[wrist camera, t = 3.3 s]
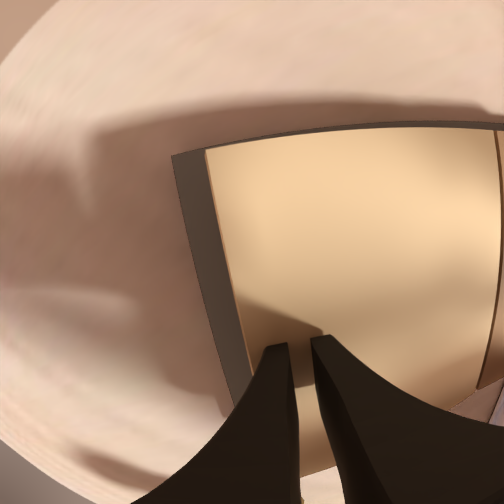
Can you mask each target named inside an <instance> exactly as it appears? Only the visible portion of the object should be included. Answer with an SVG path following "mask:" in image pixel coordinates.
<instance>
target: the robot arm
mask: <svg viewBox="0 0 504 504" xmlns="http://www.w3.org/2000/svg"><path fill="white" fill-rule="evenodd" d="M310 342H311V351H312V360H313V369H314V379H315V389H316V394H317V399H318V404H319V409H320V415H321V418H322V421H323V424H324V427H325V430H326V434H327V437H328V440H329V443H330V446H331V449H332V452H333V455H334V458H335V462H336V465H337V468H338V471H339V475H340V479H341V483H342V488H343V493H344V499H345V504H504V387H503V389H502V392H501V395H500V397H499V400H498V402H497V405H496V407H495V410H494V412H493V414H492V417H491V419H490V421H489V423H485V422H480V421H476V420H472V419H469V418H466V417H462V416H459V415H456V414H453V413H451V412H448V411H445V410H443V409H440V408H438V407H435V406H433V405H430V404H428V403H426V402H424V401H422V400H420V399H418V398H416V397H414V396H412V395H410V394H408V393H406V392H405V391H403V390H401V389H399V388H398V387H396V386H395V385H393V384H392V383H390V382H389V381H387V380H386V379H384V378H383V377H381V376H380V375H378V374H377V373H376V372H374V371H373V370H372V369H370V368H369V367H368V366H367V365H365V364H364V363H363V362H362V361H360V360H359V359H358V358H357V357H355V356H354V355H353V354H352V353H351V352H350V351H349V350H348V349H346V348H345V347H344V346H343V345H342V344H341V343H340V342H339V341H338V340H337V339H336V338H335V337H334V336H332V335H331V334H328V335H323V336H317V337H312V338H310ZM131 504H302V501H301V492H300V442H299V416H298V408H297V401H296V395H295V388H294V381H293V375H292V368H291V362H290V355H289V349H288V343H287V342H284V343H279V344H275V345H270V346H266V348H265V349H264V350H263V353H262V356H261V359H260V362H259V364H258V366H257V368H256V371H255V373H254V375H253V377H252V379H251V381H250V383H249V385H248V387H247V388H246V390H245V392H244V394H243V395H242V397H241V399H240V400H239V402H238V403H237V405H236V406H235V408H234V410H233V411H232V413H231V414H230V415H229V417H228V418H227V420H226V421H225V422H224V424H223V425H222V426H221V427H220V429H219V430H218V431H217V432H216V434H215V435H214V436H213V437H212V438H211V439H210V441H209V442H208V443H207V444H206V445H205V446H204V447H203V448H202V449H201V450H200V451H199V452H198V453H197V454H196V455H195V456H194V457H193V458H192V459H191V460H190V461H189V462H188V463H187V464H186V465H184V466H183V467H182V468H181V469H180V470H178V471H177V472H176V473H175V474H173V475H172V476H171V477H170V478H168V479H167V480H166V481H164V482H163V483H162V484H161V485H159V486H158V487H157V488H155V489H154V490H152V491H151V492H149V493H148V494H146V495H144V496H143V497H141V498H139V499H138V500H136V501H134V502H132V503H131Z"/></svg>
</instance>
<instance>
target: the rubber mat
mask: <svg viewBox="0 0 504 504" xmlns="http://www.w3.org/2000/svg"><path fill="white" fill-rule="evenodd" d="M407 127H434V128H465V129H482V130H493V131H504V124H501V123H488V122H468V121H403V122H382V123H366V124H354V125H343V126H333V127H324V128H315V129H308V130H300V131H293V132H286V133H280V134H273V135H267V136H261V137H256V138H250V139H245V140H239V141H234V142H229V143H224V144H220V145H215V146H210V147H206V148H202V149H197V150H193V151H189V152H185V153H181V154H177V155H173V156H171V158H172V163H173V168H174V173H175V178H176V183H177V188H178V193H179V198H180V203H181V207H182V212H183V217H184V221H185V226H186V230H187V234H188V239H189V243H190V247H191V252H192V256H193V260H194V264H195V268H196V272H197V276H198V280H199V284H200V288H201V292H202V296H203V300H204V304H205V307H206V311H207V315H208V318H209V322H210V326H211V329H212V333H213V337H214V340H215V344H216V347H217V351H218V354H219V357H220V361H221V364H222V368H223V371H224V374H225V377H226V381H227V384H228V387H229V390H230V394H231V397H232V400H233V403H234V406H236V405H237V403H238V402H239V400H240V399H241V397H242V395H243V394H244V392H245V390H246V388H247V387H248V385H249V383H250V381H251V379H252V377H253V375H252V371H251V367H250V363H249V359H248V355H247V351H246V346H245V342H244V338H243V334H242V329H241V325H240V321H239V316H238V312H237V308H236V303H235V299H234V294H233V290H232V285H231V281H230V276H229V272H228V267H227V263H226V258H225V253H224V249H223V244H222V239H221V235H220V230H219V225H218V220H217V215H216V211H215V206H214V201H213V196H212V191H211V186H210V181H209V176H208V171H207V165H206V160H205V150H206V149H211V148H217V147H222V146H227V145H233V144H239V143H245V142H251V141H257V140H264V139H270V138H278V137H285V136H293V135H301V134H310V133H320V132H331V131H343V130H357V129H375V128H407Z"/></svg>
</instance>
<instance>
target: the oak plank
mask: <svg viewBox="0 0 504 504" xmlns="http://www.w3.org/2000/svg"><path fill="white" fill-rule="evenodd" d="M205 160H206V165H207V171H208V176H209V181H210V186H211V191H212V196H213V201H214V206H215V211H216V215H217V220H218V225H219V230H220V235H221V239H222V244H223V249H224V253H225V258H226V263H227V267H228V272H229V276H230V281H231V285H232V290H233V294H234V299H235V303H236V308H237V312H238V316H239V321H240V325H241V329H242V334H243V338H244V342H245V346H246V351H247V355H248V359H249V363H250V367H251V371H252V375H254V373H255V371H256V368H257V366H258V364H259V362H260V359H261V356H262V353H263V350H264V349H265V348H266V346H270V345H275V344H279V343H284V342H287V343H288V349H289V355H290V362H291V368H292V375H293V381H294V388H295V395H296V401H297V408H298V416H299V442H300V478H301V477H304V476H307V475H310V474H313V473H316V472H319V471H322V470H325V469H328V468H331V467H334V466H337V465H336V462H335V458H334V455H333V452H332V449H331V446H330V443H329V440H328V437H327V434H326V430H325V427H324V424H323V421H322V418H321V415H320V409H319V404H318V399H317V394H316V389H315V379H314V369H313V360H312V351H311V342H310V338H312V337H317V336H323V335H328V334H331V335H332V336H334V337H335V338H336V339H337V340H338V341H339V342H340V343H341V344H342V345H343V346H344V347H345V348H346V349H348V350H349V351H350V352H351V353H352V354H353V355H354V356H355V357H357V358H358V359H359V360H360V361H362V362H363V363H364V364H365V365H367V366H368V367H369V368H370V369H372V370H373V371H374V372H376V373H377V374H378V375H380V376H381V377H383V378H384V379H386V380H387V381H389V382H390V383H392V384H393V385H395V386H396V387H398V388H399V389H401V390H403V391H405V392H406V393H408V394H410V395H412V396H414V397H416V398H418V399H420V400H422V401H424V402H426V403H428V404H430V405H433V406H435V407H438V408H440V409H443V410H445V411H448V410H449V409H451V408H452V407H454V406H455V405H457V404H458V403H460V402H461V401H463V400H464V399H466V398H467V397H469V396H470V395H472V394H473V393H474V391H475V388H476V385H477V382H478V378H479V375H480V371H481V368H482V364H483V360H484V356H485V352H486V348H487V343H488V339H489V334H490V329H491V324H492V318H493V312H494V306H495V299H496V291H497V283H498V273H499V260H500V240H501V203H500V184H499V171H498V161H497V153H496V145H495V139H494V132H493V130H482V129H465V128H434V127H407V128H375V129H357V130H343V131H331V132H320V133H310V134H301V135H293V136H285V137H278V138H270V139H264V140H257V141H251V142H245V143H239V144H233V145H227V146H222V147H217V148H211V149H206V150H205Z"/></svg>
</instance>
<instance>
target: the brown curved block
mask: <svg viewBox="0 0 504 504" xmlns="http://www.w3.org/2000/svg"><path fill="white" fill-rule="evenodd" d="M493 132H494V139H495V145H496V153H497V161H498V171H499V184H500V203H501V240H500V260H499V273H498V283H497V291H496V299H495V306H494V312H493V318H492V324H491V329H490V334H489V339H488V343H487V348H486V352H485V356H484V360H483V364H482V368H481V371H480V375H479V378H478V382H477V385H476V389H477V390H479V389H481V388H483V387H485V386H487V385H489V384H491V383H493V382H495V381H497V380H499V379H501V378H503V377H504V131H493Z"/></svg>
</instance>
